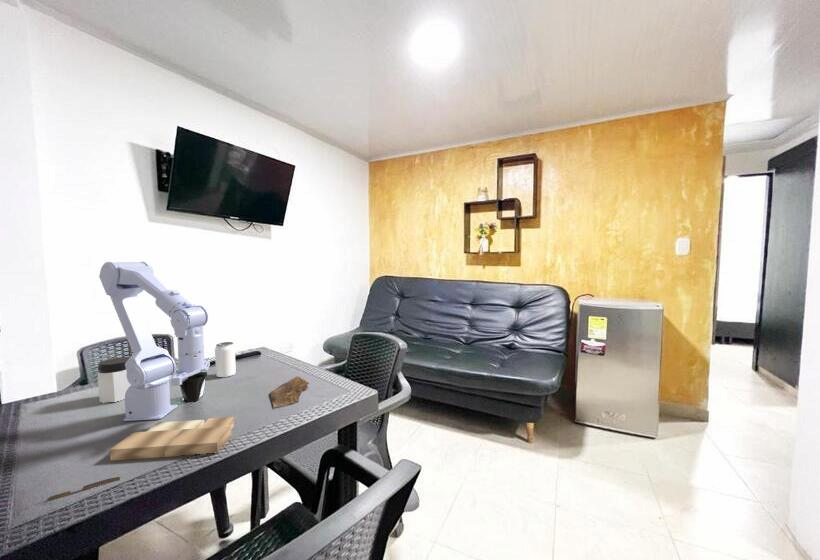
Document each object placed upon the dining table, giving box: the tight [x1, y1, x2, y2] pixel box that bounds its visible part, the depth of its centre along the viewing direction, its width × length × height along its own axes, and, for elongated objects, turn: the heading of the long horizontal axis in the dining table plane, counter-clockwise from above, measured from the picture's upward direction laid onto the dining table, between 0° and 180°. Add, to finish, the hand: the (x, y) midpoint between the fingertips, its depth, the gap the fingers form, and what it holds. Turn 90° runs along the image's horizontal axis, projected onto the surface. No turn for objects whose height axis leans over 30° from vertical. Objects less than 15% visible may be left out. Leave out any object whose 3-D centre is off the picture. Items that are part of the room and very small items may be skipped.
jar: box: [97, 356, 131, 403], centre depth 101 cm, size 9×8×12 cm
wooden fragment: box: [269, 376, 309, 410], centre depth 106 cm, size 26×11×1 cm, turn 3°
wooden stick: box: [34, 476, 121, 506], centre depth 61 cm, size 12×3×1 cm, turn 122°
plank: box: [145, 419, 205, 432], centre depth 80 cm, size 11×5×2 cm, turn 97°
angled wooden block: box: [109, 416, 235, 462], centre depth 76 cm, size 22×12×2 cm, turn 96°
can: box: [214, 341, 237, 378], centre depth 121 cm, size 6×6×12 cm
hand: (193, 401), depth 86 cm, fingers closed
